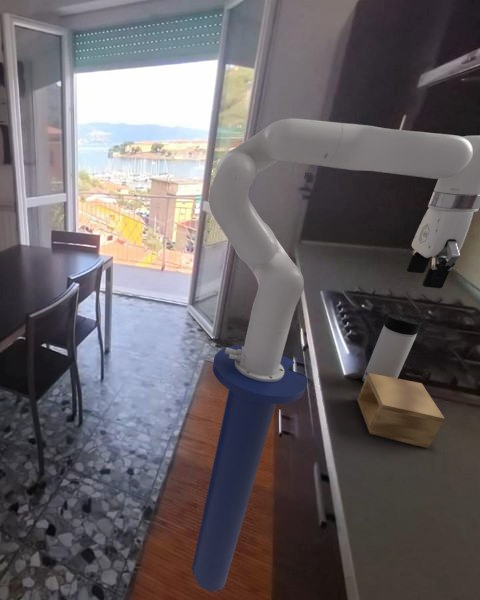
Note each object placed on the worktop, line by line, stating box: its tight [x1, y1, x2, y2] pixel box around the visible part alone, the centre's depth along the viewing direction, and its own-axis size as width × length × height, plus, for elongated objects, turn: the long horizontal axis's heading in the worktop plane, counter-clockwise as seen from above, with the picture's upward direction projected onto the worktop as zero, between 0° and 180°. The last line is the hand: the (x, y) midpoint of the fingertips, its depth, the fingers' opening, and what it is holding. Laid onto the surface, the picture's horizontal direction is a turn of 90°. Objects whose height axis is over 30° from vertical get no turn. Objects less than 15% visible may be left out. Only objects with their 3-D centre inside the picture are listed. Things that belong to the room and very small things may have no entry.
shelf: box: [356, 373, 445, 449], centre depth 79 cm, size 10×12×8 cm
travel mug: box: [362, 313, 423, 383], centre depth 88 cm, size 6×7×20 cm
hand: (422, 279), depth 80 cm, fingers open, 9 cm apart
